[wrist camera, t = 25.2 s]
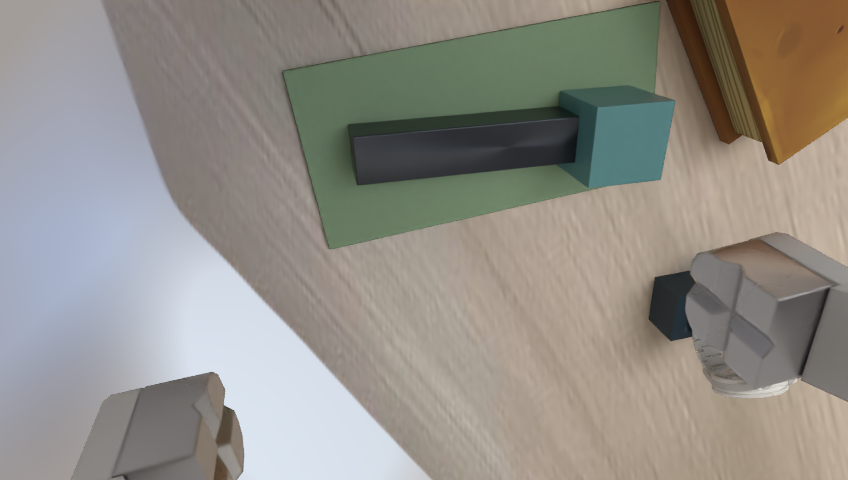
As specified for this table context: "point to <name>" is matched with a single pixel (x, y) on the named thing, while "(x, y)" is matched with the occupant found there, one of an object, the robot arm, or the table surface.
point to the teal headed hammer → (525, 140)
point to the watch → (675, 326)
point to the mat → (458, 113)
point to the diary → (769, 67)
